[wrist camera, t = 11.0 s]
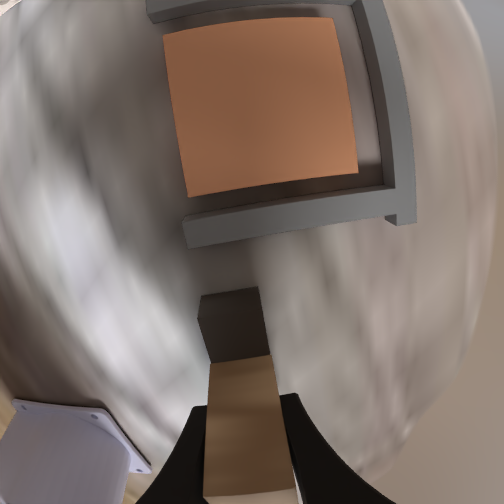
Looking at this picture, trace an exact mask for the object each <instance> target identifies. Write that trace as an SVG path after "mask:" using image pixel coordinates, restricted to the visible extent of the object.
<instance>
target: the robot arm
mask: <svg viewBox="0 0 504 504" xmlns="http://www.w3.org/2000/svg"><path fill="white" fill-rule="evenodd" d="M279 398H280V404H281V409H282V416H283V420H284V425H285V430H286V436H287V441H288V446H289V452H290V457H291V462H292V466H293V469H294V473H295V476H296V480H297V483H298V486H299V490H300V493H301V497H302V501H303V504H396V503H394V502H393V501H391V500H389V499H388V498H387V497H385V496H384V495H382V494H381V493H380V492H378V491H377V490H376V489H374V488H373V487H372V486H371V485H369V484H368V483H367V482H365V481H364V480H363V479H362V478H361V477H360V476H359V475H357V474H356V473H355V472H354V471H353V470H352V469H351V468H350V467H349V466H348V465H347V464H346V463H345V462H344V461H343V460H342V459H341V458H340V457H339V456H338V455H337V453H336V452H335V451H334V450H333V449H332V448H331V446H330V445H329V444H328V443H327V441H326V440H325V439H324V438H323V436H322V435H321V433H320V432H319V431H318V429H317V428H316V426H315V425H314V424H313V422H312V420H311V419H310V417H309V416H308V414H307V412H306V410H305V409H304V407H303V405H302V403H301V401H300V398H299V396H298V394H297V393H291V394H285V395H280V396H279ZM12 405H13V406H14V408H15V409H16V410H17V412H16V414H15V415H14V417H13V419H12V421H11V422H10V424H9V426H8V428H7V429H6V431H5V433H4V435H3V437H2V439H1V441H0V502H1V503H0V504H122V502H123V497H124V492H125V487H126V482H127V478H128V473H129V472H134V473H146V474H150V473H152V468H151V466H150V465H149V464H148V463H147V462H146V461H145V460H144V458H143V457H142V456H141V455H140V454H139V452H138V451H137V450H136V449H135V448H134V446H133V445H132V444H131V443H130V441H129V440H128V439H127V437H126V436H125V435H124V434H123V432H122V431H121V430H120V428H119V427H118V426H117V424H116V423H115V421H114V420H113V419H112V417H111V416H110V414H109V413H108V412H107V411H106V410H104V409H101V408H87V407H74V406H63V405H54V404H46V403H38V402H31V401H25V400H19V399H13V400H12ZM206 420H207V405H205V406H194V407H193V408H192V410H191V413H190V415H189V418H188V420H187V422H186V425H185V427H184V429H183V431H182V433H181V435H180V437H179V439H178V441H177V443H176V445H175V447H174V449H173V451H172V453H171V455H170V456H169V458H168V460H167V461H166V463H165V465H164V466H163V468H162V469H161V471H160V473H159V474H158V476H157V477H156V478H155V480H154V481H153V483H152V484H151V485H150V487H149V488H148V489H147V490H146V492H145V493H144V494H143V495H142V496H141V498H140V499H139V500H138V501H137V502H136V503H135V504H209V503H208V502H207V501H206V500H205V498H204V497H203V482H204V458H205V437H206Z"/></svg>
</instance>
